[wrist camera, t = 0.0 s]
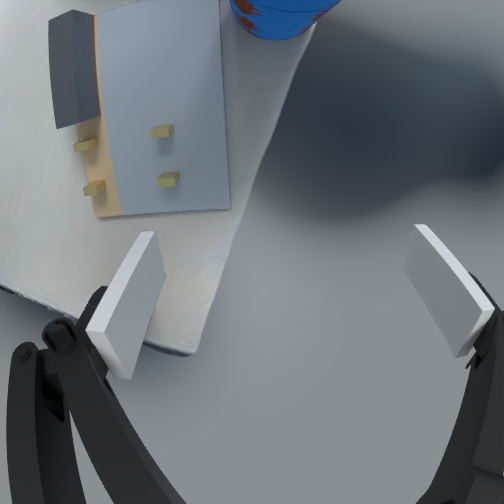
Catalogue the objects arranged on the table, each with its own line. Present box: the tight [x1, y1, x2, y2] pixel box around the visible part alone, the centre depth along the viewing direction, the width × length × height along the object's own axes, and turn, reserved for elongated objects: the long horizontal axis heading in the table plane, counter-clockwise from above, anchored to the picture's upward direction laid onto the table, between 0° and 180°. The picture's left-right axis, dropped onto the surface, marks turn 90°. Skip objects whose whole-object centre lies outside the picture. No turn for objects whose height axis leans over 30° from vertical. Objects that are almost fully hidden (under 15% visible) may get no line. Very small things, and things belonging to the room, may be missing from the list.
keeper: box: [73, 124, 180, 196], centre depth 37 cm, size 8×14×3 cm, turn 92°
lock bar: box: [48, 10, 101, 129], centre depth 27 cm, size 16×4×6 cm, turn 2°
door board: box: [77, 0, 231, 218], centre depth 34 cm, size 32×22×1 cm
